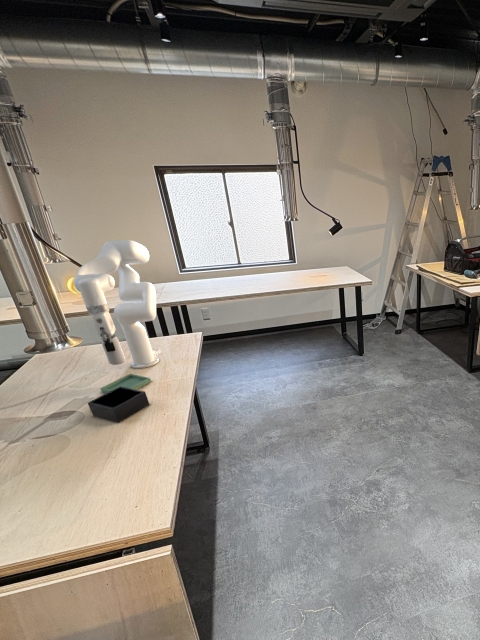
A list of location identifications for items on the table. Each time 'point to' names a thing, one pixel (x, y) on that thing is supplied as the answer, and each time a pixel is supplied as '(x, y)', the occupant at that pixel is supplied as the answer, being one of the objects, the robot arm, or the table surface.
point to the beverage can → (114, 352)
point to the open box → (118, 404)
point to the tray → (127, 383)
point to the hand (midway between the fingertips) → (112, 347)
